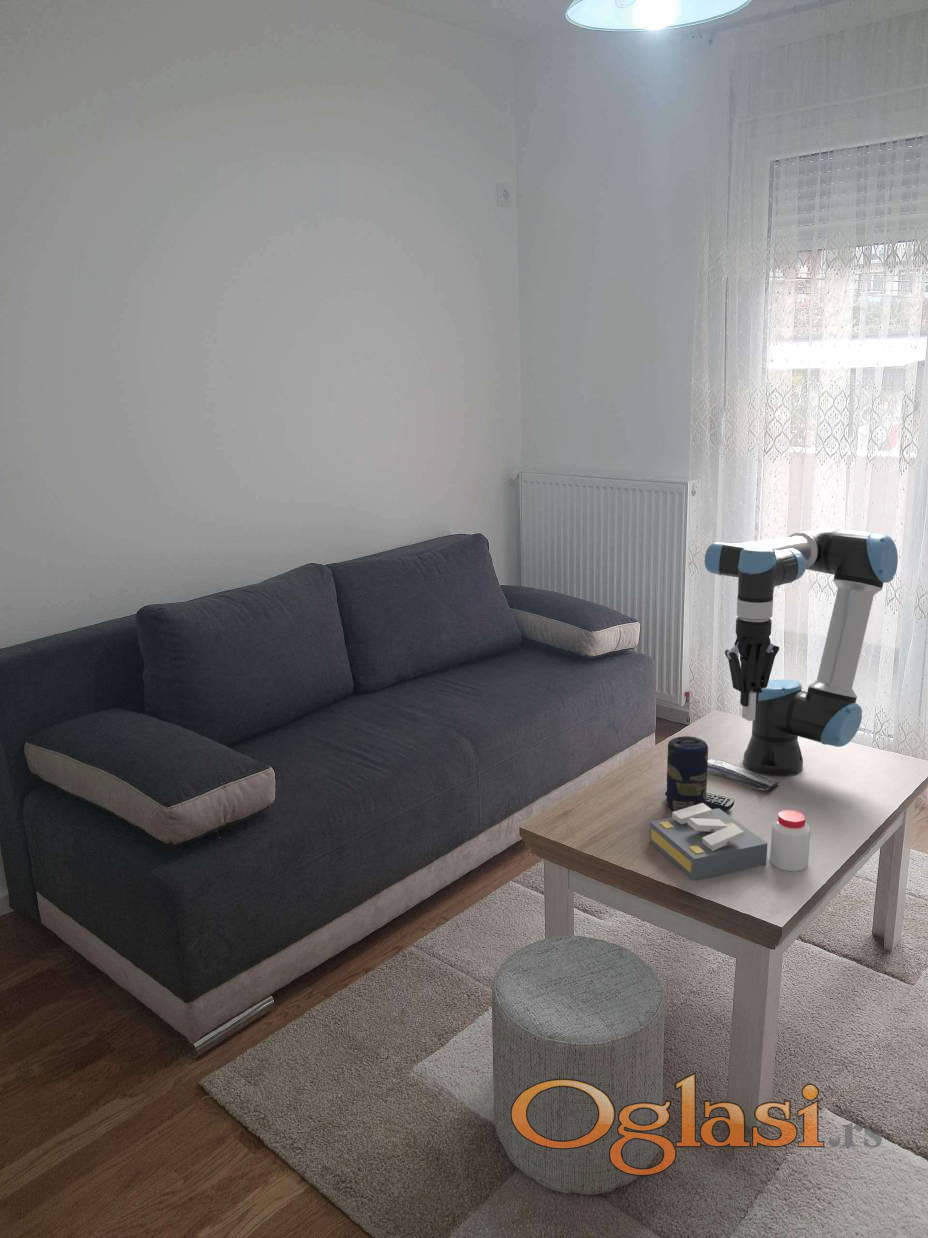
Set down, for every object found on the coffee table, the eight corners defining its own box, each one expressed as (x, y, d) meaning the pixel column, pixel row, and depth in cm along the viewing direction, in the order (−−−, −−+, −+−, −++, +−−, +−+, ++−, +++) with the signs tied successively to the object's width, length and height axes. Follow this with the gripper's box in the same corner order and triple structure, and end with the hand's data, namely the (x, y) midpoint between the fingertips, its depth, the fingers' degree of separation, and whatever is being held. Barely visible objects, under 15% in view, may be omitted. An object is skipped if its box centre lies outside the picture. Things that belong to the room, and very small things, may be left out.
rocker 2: (716, 825, 209) (718, 818, 208) (727, 834, 205) (729, 827, 205) (686, 824, 206) (688, 817, 206) (697, 833, 202) (698, 825, 202)
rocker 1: (702, 809, 214) (702, 802, 214) (713, 816, 210) (712, 810, 210) (671, 818, 212) (671, 811, 211) (681, 826, 208) (681, 819, 207)
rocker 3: (733, 830, 203) (732, 823, 202) (745, 839, 199) (744, 832, 199) (702, 843, 201) (701, 837, 200) (713, 853, 197) (712, 846, 197)
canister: (706, 817, 223) (709, 746, 219) (665, 814, 225) (668, 744, 220) (704, 800, 232) (708, 731, 228) (665, 797, 234) (667, 729, 230)
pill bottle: (764, 854, 206) (767, 808, 203) (798, 852, 206) (801, 806, 203) (778, 872, 198) (781, 825, 195) (814, 870, 199) (817, 823, 196)
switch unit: (717, 828, 218) (718, 807, 217) (766, 864, 202) (767, 842, 200) (648, 842, 212) (649, 821, 211) (692, 880, 196) (693, 858, 194)
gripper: (768, 610, 212) (762, 709, 218) (718, 616, 208) (713, 717, 214) (789, 618, 205) (783, 720, 211) (739, 624, 201) (733, 728, 207)
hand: (748, 718), depth 212 cm, fingers closed
